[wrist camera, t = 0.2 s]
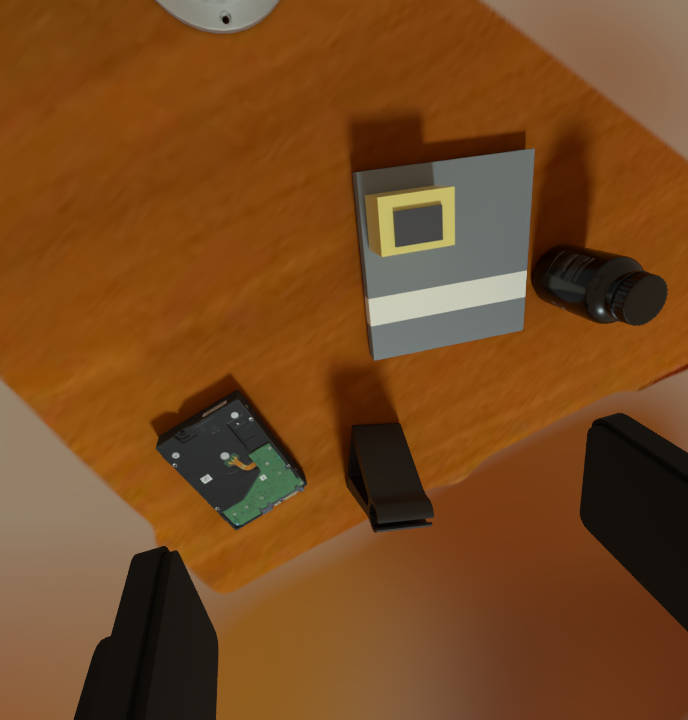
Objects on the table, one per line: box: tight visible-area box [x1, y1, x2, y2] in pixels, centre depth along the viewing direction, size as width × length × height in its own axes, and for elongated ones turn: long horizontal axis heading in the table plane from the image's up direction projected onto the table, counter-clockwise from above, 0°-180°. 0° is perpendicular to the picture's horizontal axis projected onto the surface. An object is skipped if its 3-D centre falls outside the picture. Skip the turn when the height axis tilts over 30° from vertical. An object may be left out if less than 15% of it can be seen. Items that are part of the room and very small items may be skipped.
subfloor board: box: [352, 149, 535, 361], centre depth 45 cm, size 19×18×2 cm
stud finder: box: [365, 185, 455, 257], centre depth 39 cm, size 5×7×4 cm
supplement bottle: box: [533, 244, 668, 326], centre depth 44 cm, size 7×7×12 cm
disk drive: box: [156, 390, 307, 530], centre depth 49 cm, size 10×3×15 cm
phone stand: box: [346, 423, 434, 533], centre depth 49 cm, size 9×6×12 cm, turn 174°
